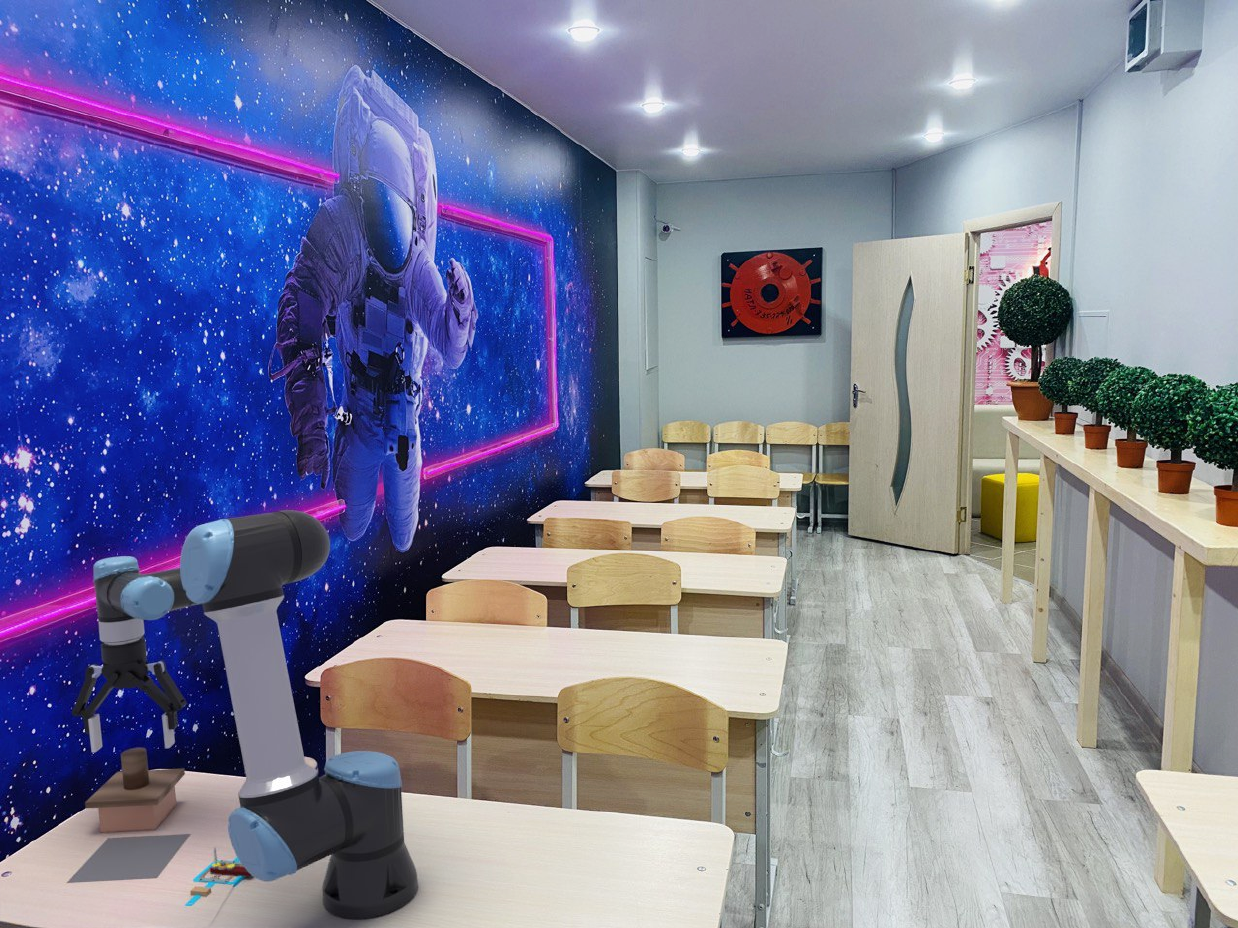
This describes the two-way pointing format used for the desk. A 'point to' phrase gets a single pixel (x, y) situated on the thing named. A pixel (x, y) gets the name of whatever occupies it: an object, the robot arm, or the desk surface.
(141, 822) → the square bowl
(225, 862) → the gear mechanism
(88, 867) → the rubber mat
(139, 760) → the walnut lid
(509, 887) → the desk surface
